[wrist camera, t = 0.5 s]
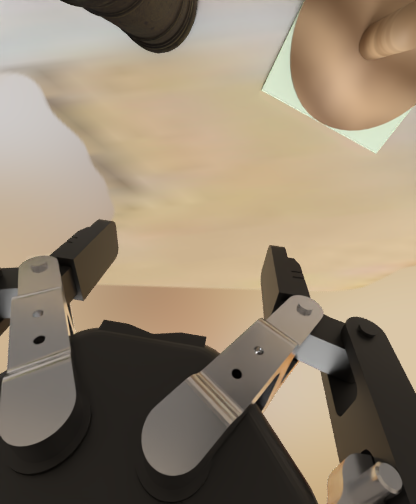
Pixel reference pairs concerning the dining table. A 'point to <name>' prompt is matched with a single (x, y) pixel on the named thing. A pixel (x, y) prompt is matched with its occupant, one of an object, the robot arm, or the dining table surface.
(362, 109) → the lid
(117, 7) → the container
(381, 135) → the mat
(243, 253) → the dining table surface
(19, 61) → the dining table surface
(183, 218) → the dining table surface
